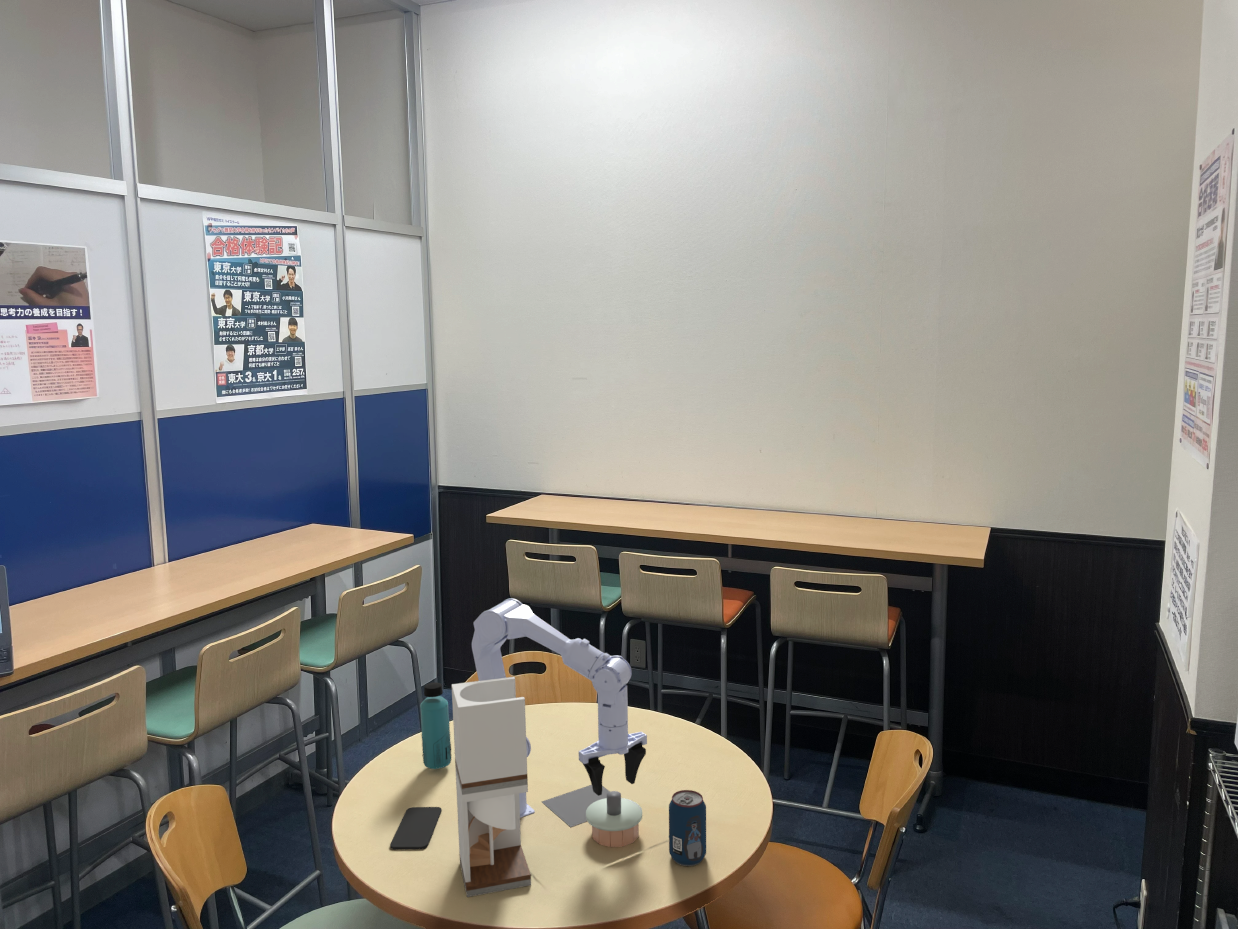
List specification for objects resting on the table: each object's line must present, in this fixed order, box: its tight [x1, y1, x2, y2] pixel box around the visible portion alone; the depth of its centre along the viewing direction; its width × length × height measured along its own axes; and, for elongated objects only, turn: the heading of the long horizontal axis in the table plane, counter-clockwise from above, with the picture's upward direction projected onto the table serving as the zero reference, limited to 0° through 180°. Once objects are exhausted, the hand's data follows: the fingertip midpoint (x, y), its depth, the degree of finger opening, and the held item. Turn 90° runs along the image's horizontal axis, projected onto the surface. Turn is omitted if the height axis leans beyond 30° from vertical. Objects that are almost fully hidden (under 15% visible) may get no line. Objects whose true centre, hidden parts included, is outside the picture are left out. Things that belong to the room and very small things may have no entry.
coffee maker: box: [451, 676, 532, 898], centre depth 163 cm, size 11×11×35 cm
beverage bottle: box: [419, 681, 452, 770], centre depth 204 cm, size 6×7×20 cm
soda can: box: [668, 789, 707, 867], centre depth 169 cm, size 7×7×12 cm
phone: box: [389, 806, 443, 851], centre depth 181 cm, size 7×1×15 cm
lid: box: [586, 790, 643, 831], centre depth 177 cm, size 11×11×4 cm
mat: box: [541, 784, 611, 828], centre depth 189 cm, size 14×12×1 cm
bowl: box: [591, 822, 640, 848], centre depth 177 cm, size 9×9×4 cm
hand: (614, 787), depth 176 cm, fingers open, 7 cm apart
